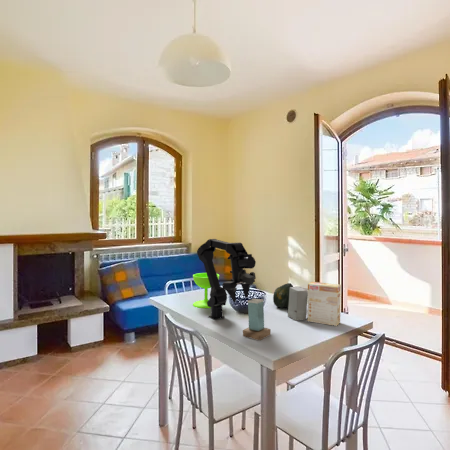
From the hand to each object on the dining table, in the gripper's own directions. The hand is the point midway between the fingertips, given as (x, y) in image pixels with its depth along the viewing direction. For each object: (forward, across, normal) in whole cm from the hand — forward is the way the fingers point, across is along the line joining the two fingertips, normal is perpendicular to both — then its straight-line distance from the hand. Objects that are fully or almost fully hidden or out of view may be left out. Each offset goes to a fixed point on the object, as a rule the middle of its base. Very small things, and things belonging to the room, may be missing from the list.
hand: (240, 299), depth 162 cm
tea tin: (+11, -6, -12) cm, 18 cm away
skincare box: (+16, +28, -13) cm, 35 cm away
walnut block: (+14, -6, -12) cm, 20 cm away
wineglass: (+9, +15, +40) cm, 44 cm away
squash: (+14, +43, +3) cm, 46 cm away
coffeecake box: (+17, +32, -26) cm, 45 cm away
